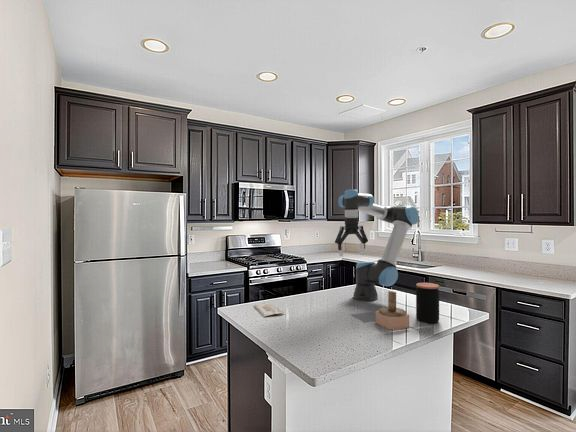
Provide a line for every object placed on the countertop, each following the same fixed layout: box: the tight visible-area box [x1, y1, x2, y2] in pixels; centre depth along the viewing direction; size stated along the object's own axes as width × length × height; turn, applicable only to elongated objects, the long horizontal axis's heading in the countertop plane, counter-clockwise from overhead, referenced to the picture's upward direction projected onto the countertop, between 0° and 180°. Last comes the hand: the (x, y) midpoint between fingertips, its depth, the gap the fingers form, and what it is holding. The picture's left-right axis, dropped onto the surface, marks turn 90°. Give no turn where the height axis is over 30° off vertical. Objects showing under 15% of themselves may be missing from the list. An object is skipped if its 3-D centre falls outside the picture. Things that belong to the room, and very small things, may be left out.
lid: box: [378, 290, 407, 317], centre depth 160 cm, size 12×12×10 cm
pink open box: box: [375, 309, 410, 330], centre depth 160 cm, size 11×11×6 cm
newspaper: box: [253, 302, 286, 318], centre depth 185 cm, size 23×12×2 cm, turn 20°
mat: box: [349, 311, 376, 324], centre depth 172 cm, size 14×14×1 cm
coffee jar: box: [415, 282, 440, 325], centre depth 167 cm, size 11×11×18 cm
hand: (351, 255), depth 187 cm, fingers open, 13 cm apart
